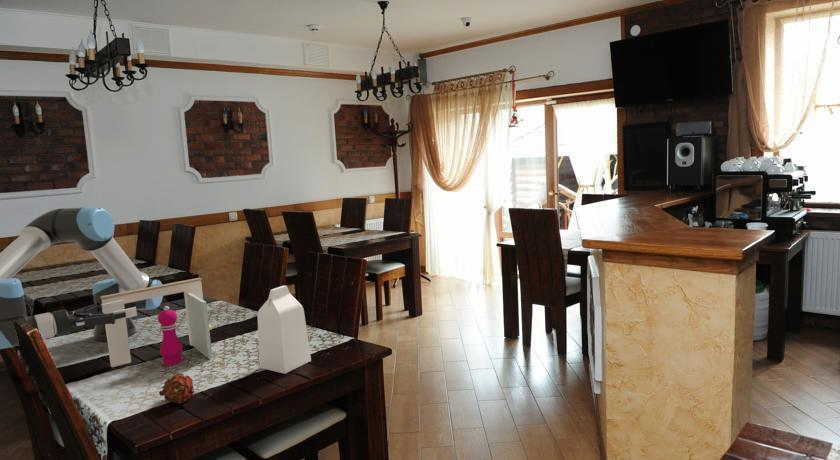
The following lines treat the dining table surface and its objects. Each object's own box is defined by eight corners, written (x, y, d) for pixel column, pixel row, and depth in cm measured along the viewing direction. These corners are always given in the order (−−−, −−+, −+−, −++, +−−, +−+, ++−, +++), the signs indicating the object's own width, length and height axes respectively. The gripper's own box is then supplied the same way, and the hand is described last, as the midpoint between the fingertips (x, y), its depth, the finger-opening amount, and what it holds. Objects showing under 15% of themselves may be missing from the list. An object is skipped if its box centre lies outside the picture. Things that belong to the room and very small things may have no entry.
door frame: (109, 366, 191) (100, 296, 188) (206, 340, 214) (199, 277, 210) (111, 367, 189) (102, 297, 186) (208, 341, 212) (202, 278, 208)
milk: (285, 373, 176) (277, 293, 172) (259, 367, 182) (252, 290, 179) (311, 360, 186) (304, 284, 182) (286, 355, 192) (279, 282, 189)
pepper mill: (187, 357, 195) (180, 302, 193) (180, 365, 188) (173, 308, 186) (165, 359, 195) (159, 304, 192) (158, 367, 188) (151, 309, 185)
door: (208, 358, 192) (202, 302, 189) (192, 344, 207) (186, 292, 205) (216, 356, 193) (210, 300, 190) (199, 343, 209) (193, 291, 206)
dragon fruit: (184, 414, 155) (172, 406, 164) (206, 388, 159) (193, 383, 168) (161, 395, 151) (150, 389, 161) (184, 370, 156) (172, 365, 165)
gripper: (47, 327, 176) (120, 311, 191) (64, 345, 158) (143, 326, 172) (43, 304, 175) (117, 290, 189) (60, 320, 157) (140, 302, 171)
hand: (129, 307), depth 181 cm, fingers open, 13 cm apart
